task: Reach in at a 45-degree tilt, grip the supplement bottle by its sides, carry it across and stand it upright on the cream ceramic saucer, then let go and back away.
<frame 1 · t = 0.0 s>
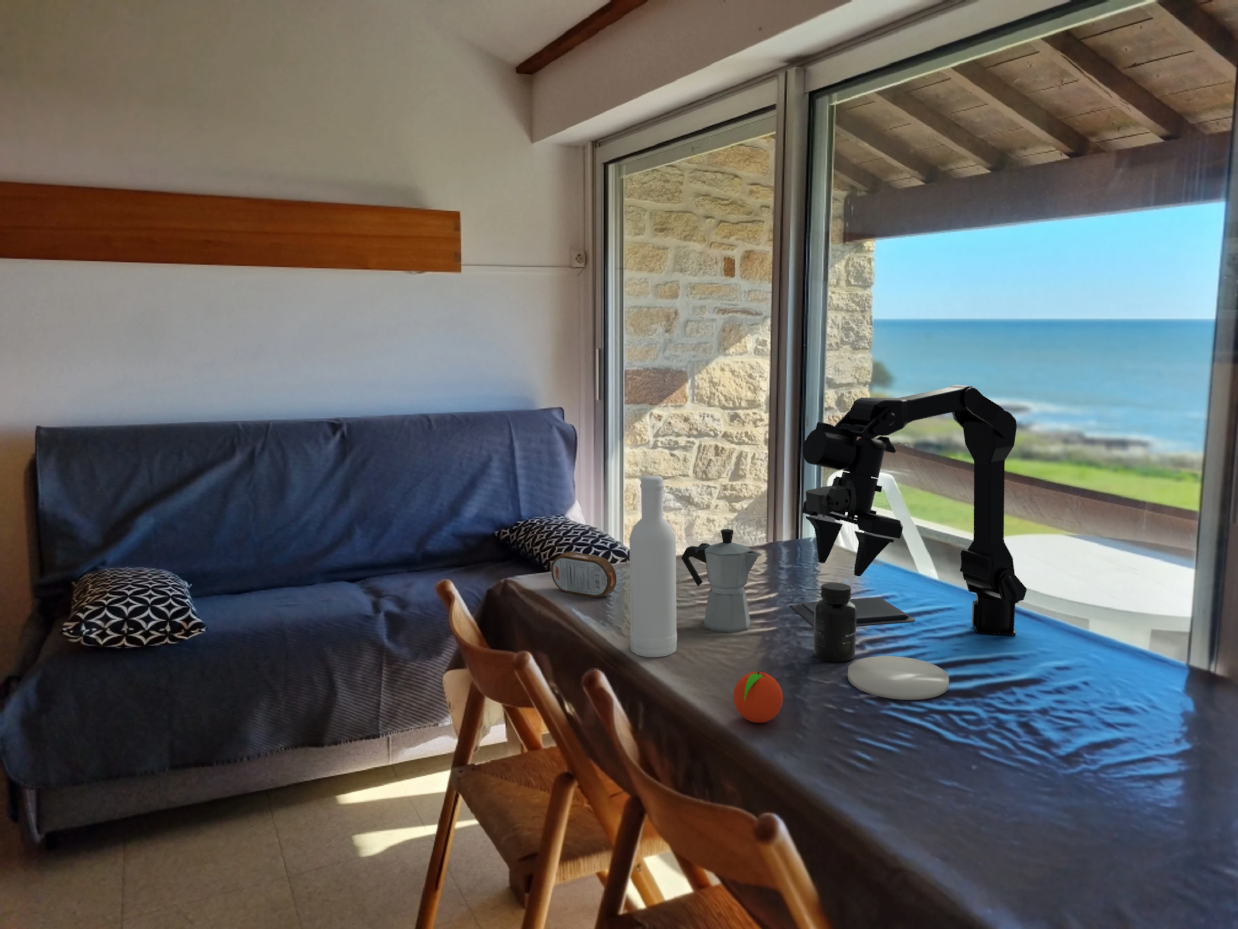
hand: (838, 569, 153), 15 cm above the table, tool pointing down, fingers open, 9 cm apart
bottle: (653, 650, 162), on the table
clementine: (756, 723, 132), on the table
saucer: (897, 680, 146), on the table
coffee maker: (721, 625, 175), on the table
tin: (583, 595, 196), on the table
supplement bottle: (834, 657, 158), on the table
dark grey flat block: (851, 617, 180), on the table
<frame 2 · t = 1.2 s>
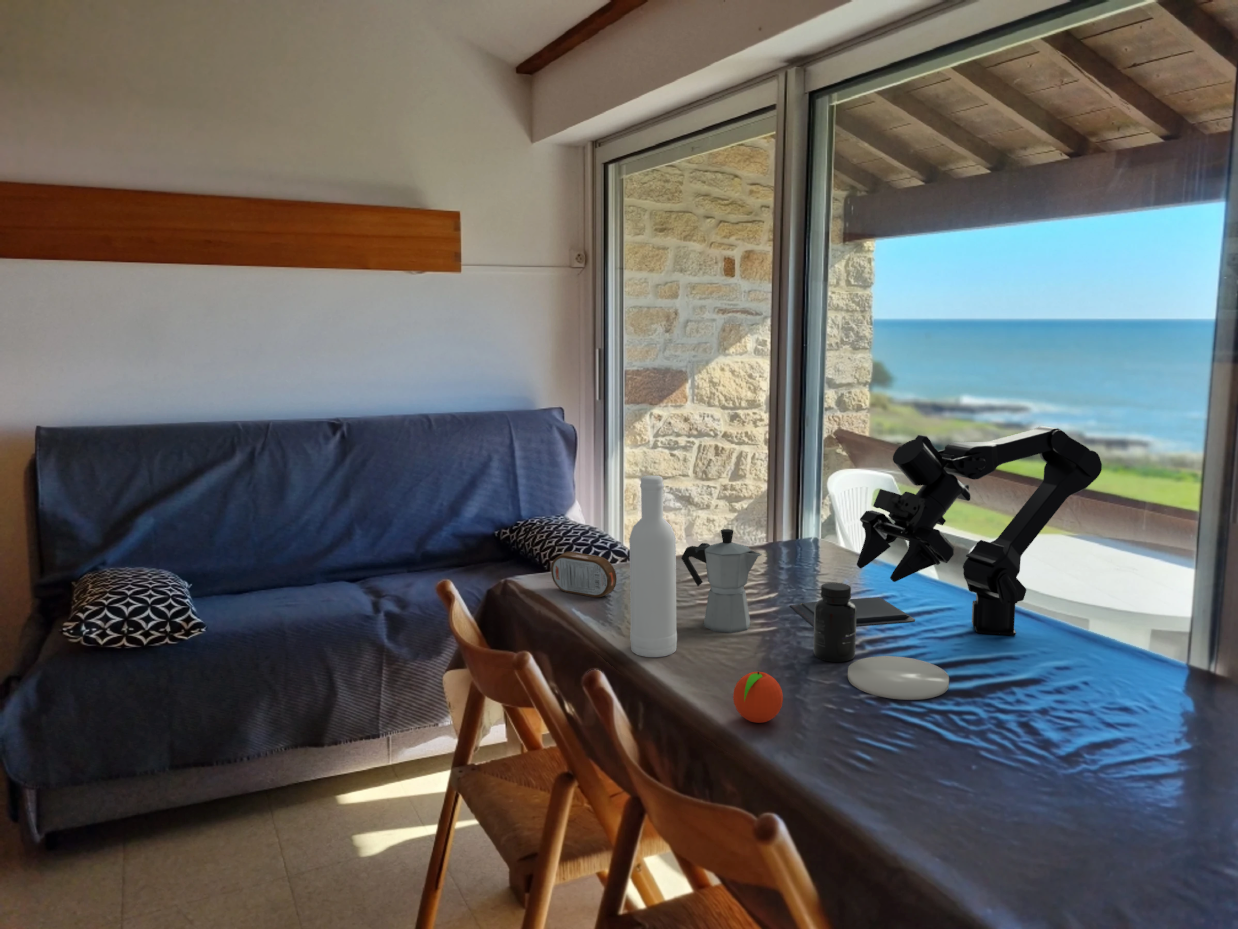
hand: (874, 573, 158), 13 cm above the table, tool tilted 45°, fingers open, 9 cm apart
nothing on the table moved.
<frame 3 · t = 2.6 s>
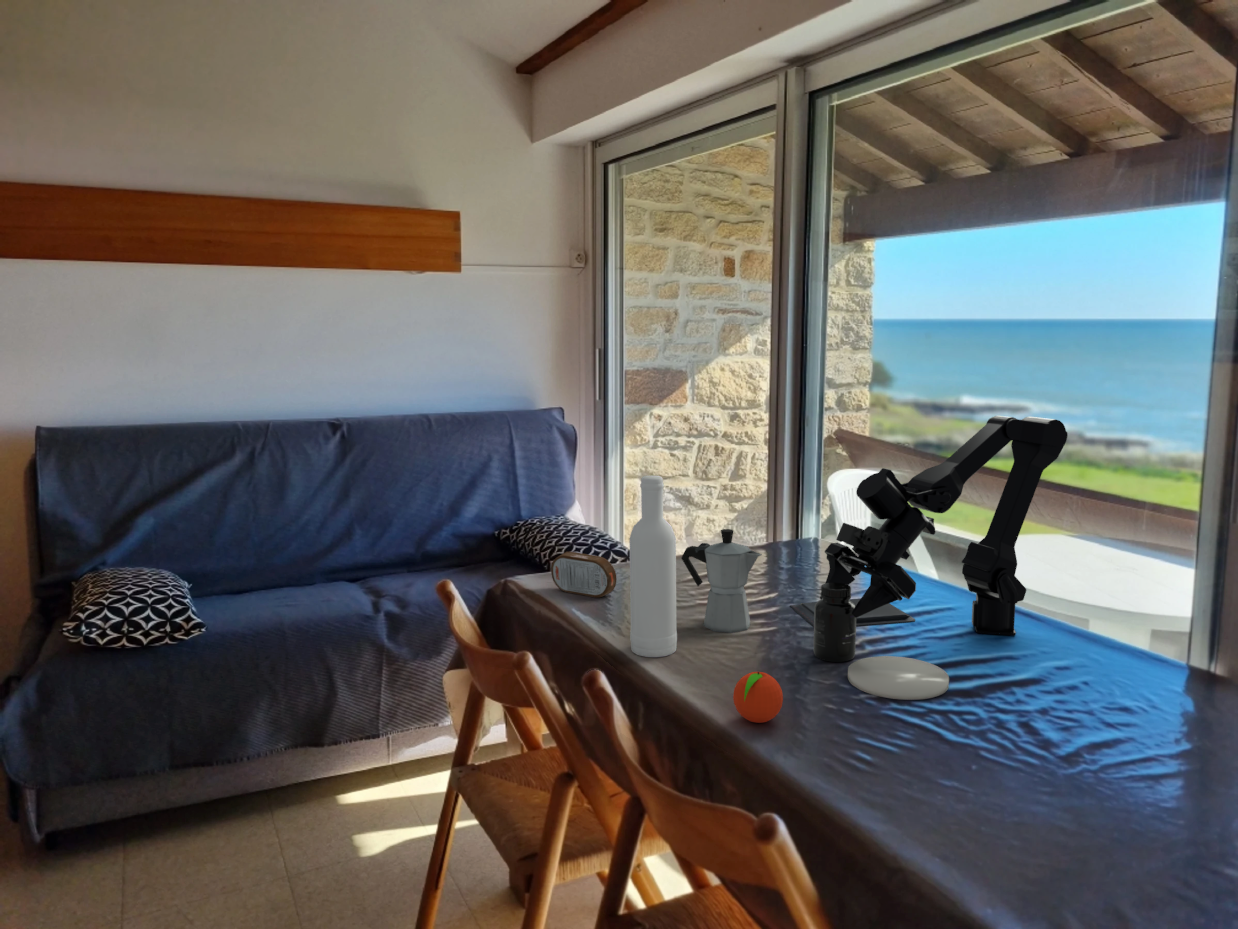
hand: (837, 607, 157), 8 cm above the table, tool tilted 45°, fingers open, 9 cm apart
nothing on the table moved.
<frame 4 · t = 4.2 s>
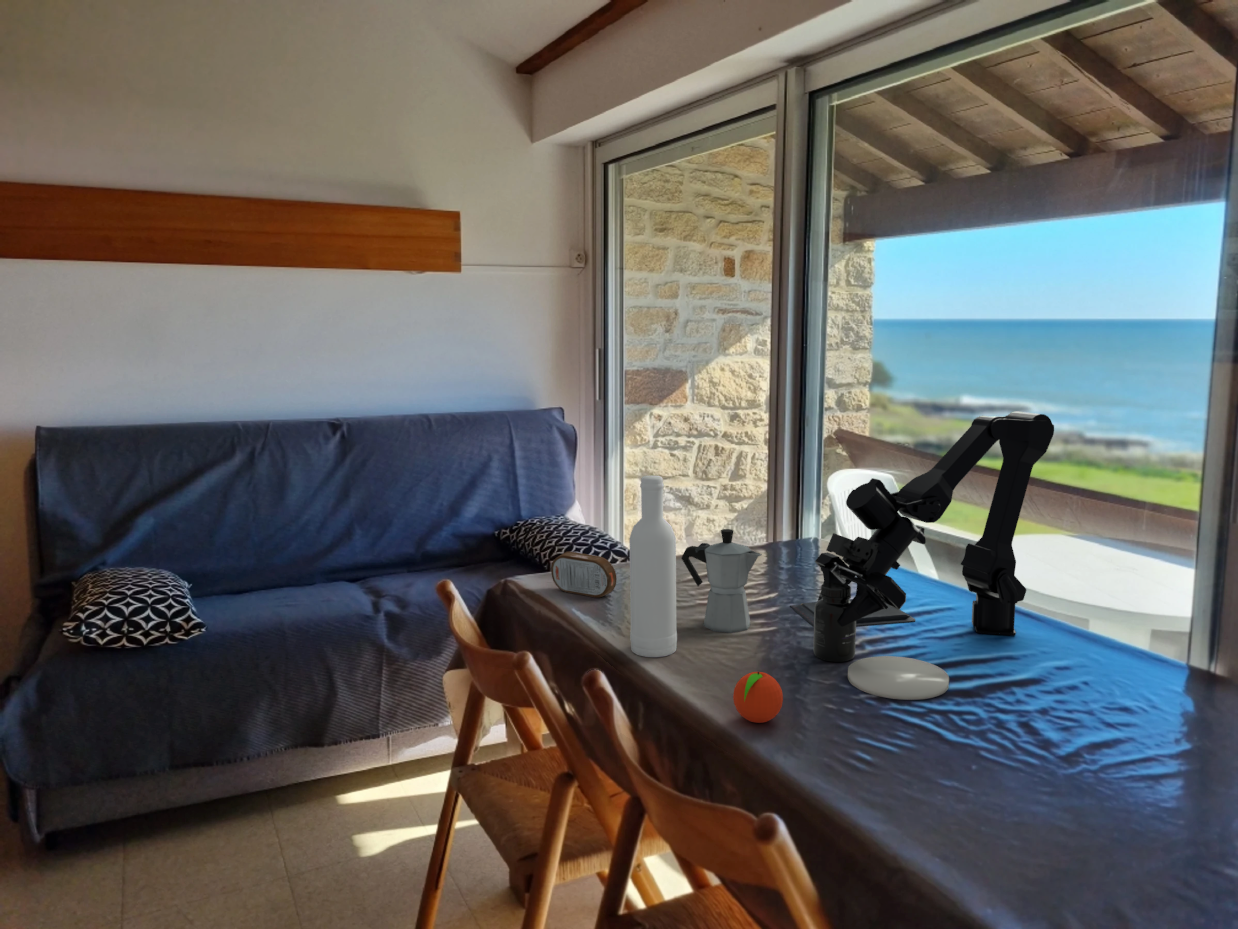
hand: (827, 618, 156), 7 cm above the table, tool tilted 45°, fingers closed on supplement bottle, 7 cm apart
supplement bottle: (834, 656, 158), on the table, touching gripper
everything else where it was.
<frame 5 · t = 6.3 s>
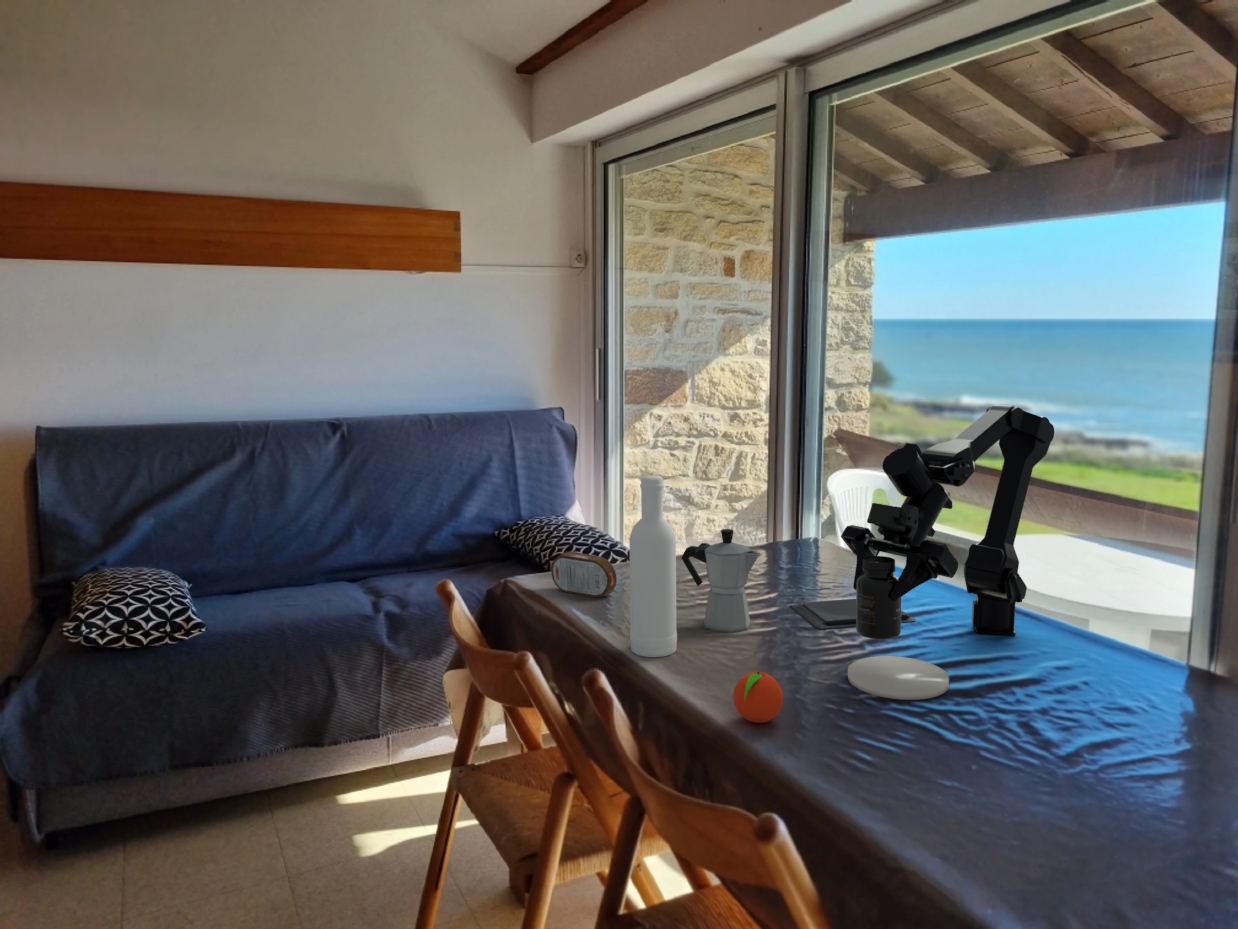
hand: (873, 594, 147), 13 cm above the table, tool tilted 45°, fingers closed on supplement bottle, 7 cm apart
supplement bottle: (878, 634, 148), point 6 cm above the table, touching gripper
everything else where it was.
when the fingers open (9 cm above the table, at t = 8.6 s): supplement bottle stays where it is, resting on saucer.
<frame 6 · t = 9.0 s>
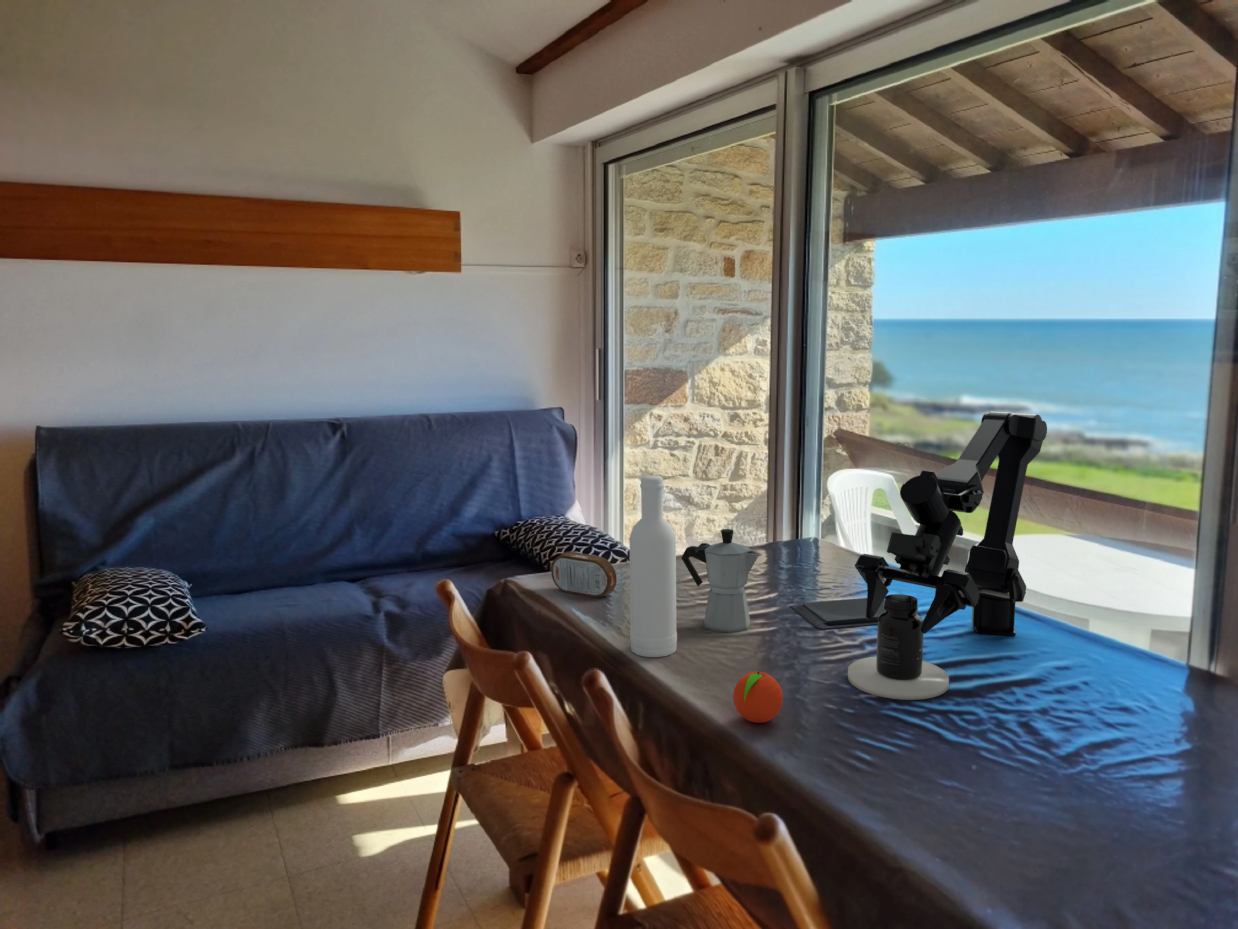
hand: (894, 625, 144), 9 cm above the table, tool tilted 45°, fingers open, 9 cm apart
supplement bottle: (898, 674, 146), point 1 cm above the table, touching saucer
everything else where it was.
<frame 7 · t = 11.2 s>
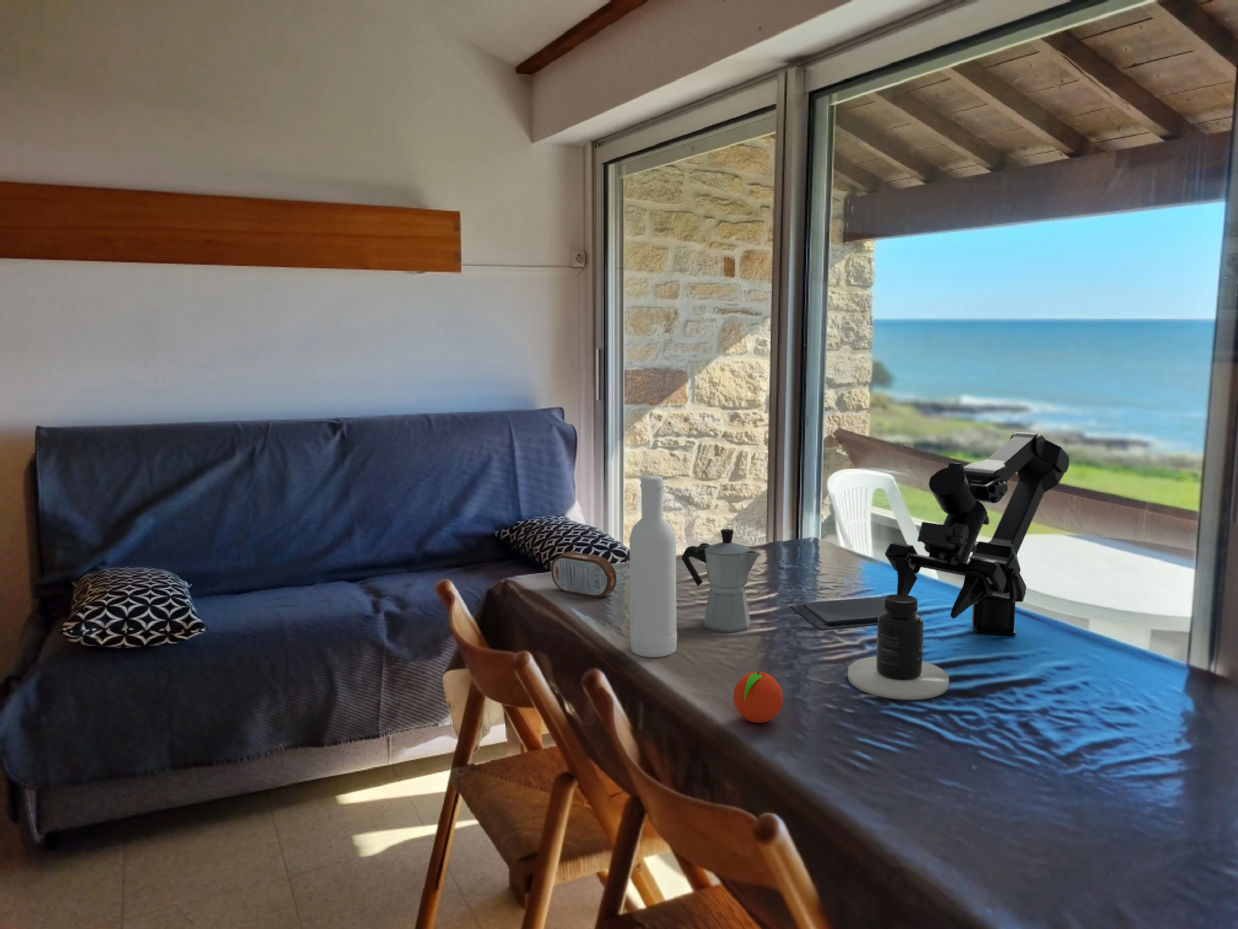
hand: (924, 610, 151), 9 cm above the table, tool tilted 45°, fingers open, 9 cm apart
nothing on the table moved.
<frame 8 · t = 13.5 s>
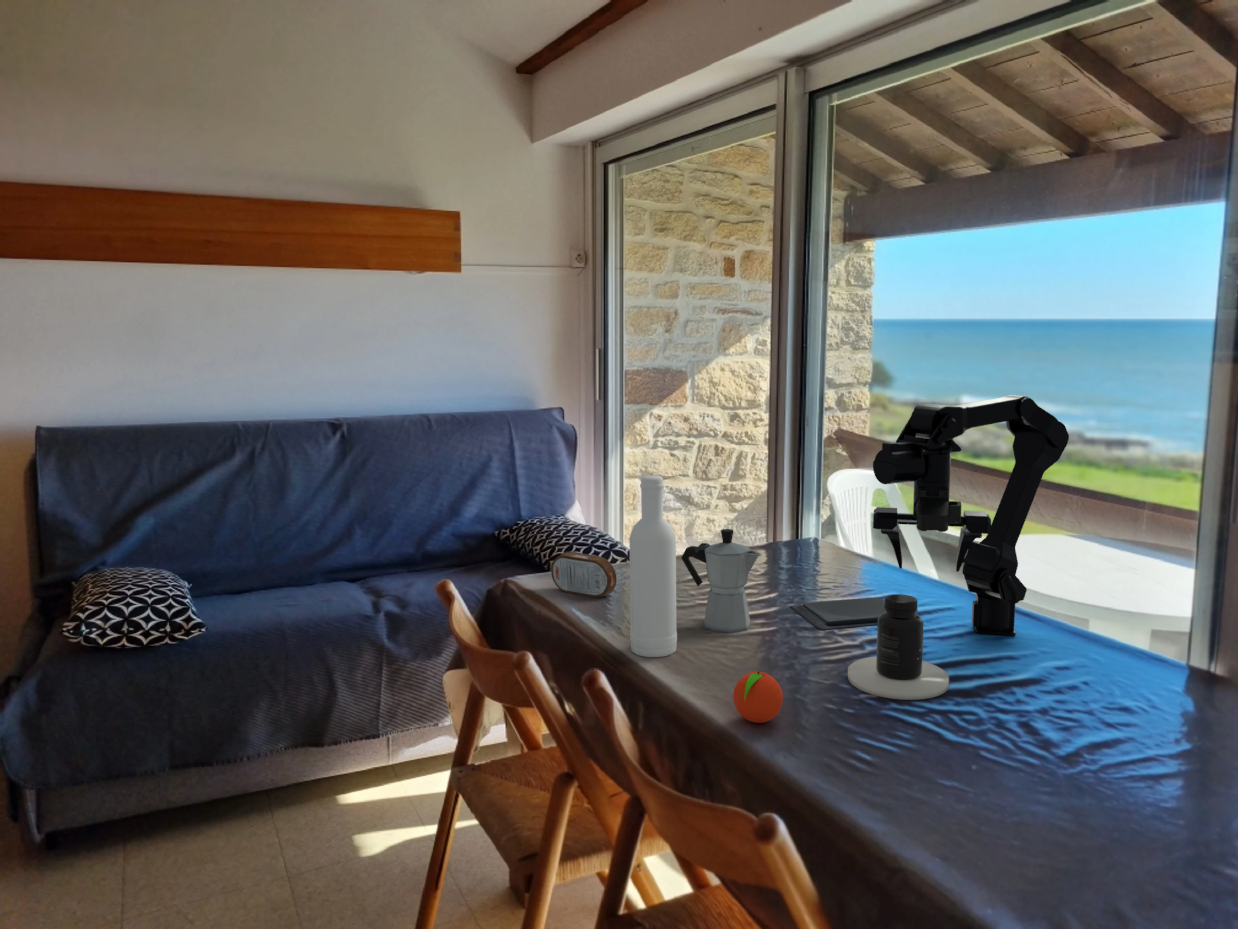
hand: (928, 569, 161), 13 cm above the table, tool pointing down, fingers open, 9 cm apart
nothing on the table moved.
at the end: supplement bottle inside the target area on the saucer (0.2 cm from its centre), point 1.0 cm above the saucer's base; supplement bottle tilted 0°; the gripper is holding nothing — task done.
